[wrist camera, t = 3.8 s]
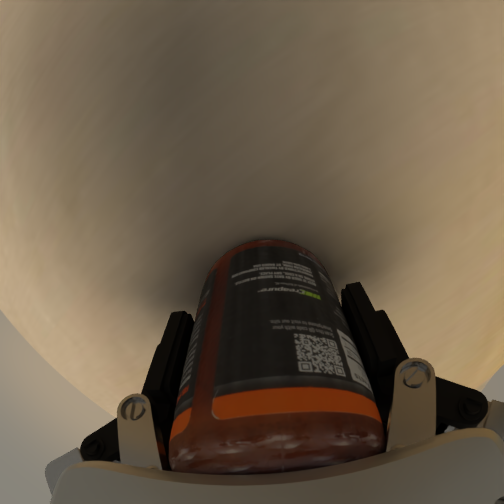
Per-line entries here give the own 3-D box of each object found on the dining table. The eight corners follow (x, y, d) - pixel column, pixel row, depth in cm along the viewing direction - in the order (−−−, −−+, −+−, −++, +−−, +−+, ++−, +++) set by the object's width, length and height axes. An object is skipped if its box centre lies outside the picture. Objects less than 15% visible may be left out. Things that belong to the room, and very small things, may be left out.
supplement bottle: (225, 342, 15) (204, 550, 5) (188, 249, 12) (89, 532, 2) (332, 324, 14) (382, 535, 4) (323, 221, 11) (450, 526, 1)
